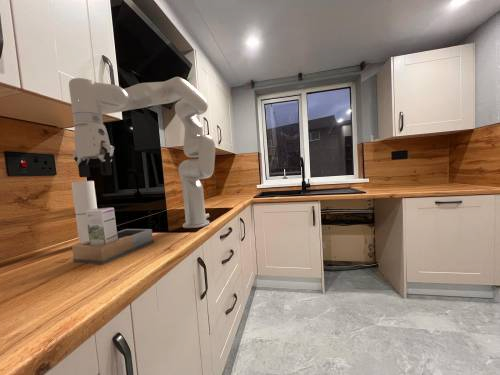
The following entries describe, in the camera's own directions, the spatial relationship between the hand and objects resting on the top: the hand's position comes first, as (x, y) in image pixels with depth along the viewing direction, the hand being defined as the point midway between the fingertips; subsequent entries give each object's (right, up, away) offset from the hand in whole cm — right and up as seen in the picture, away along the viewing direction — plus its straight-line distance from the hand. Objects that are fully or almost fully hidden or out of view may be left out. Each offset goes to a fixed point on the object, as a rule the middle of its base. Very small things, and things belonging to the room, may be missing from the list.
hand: (95, 176), depth 71 cm
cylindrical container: (-15, -26, +18) cm, 35 cm away
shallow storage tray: (+3, -26, +6) cm, 26 cm away
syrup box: (+2, -25, +2) cm, 25 cm away
